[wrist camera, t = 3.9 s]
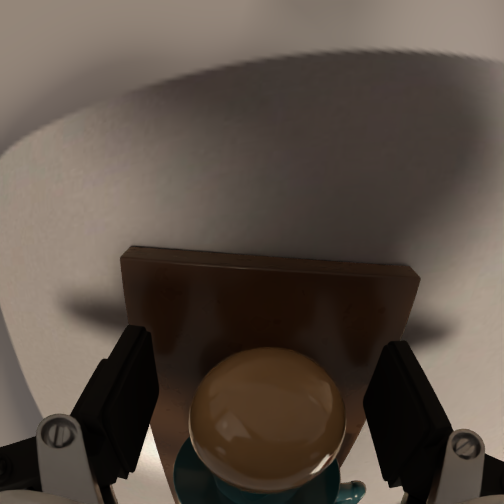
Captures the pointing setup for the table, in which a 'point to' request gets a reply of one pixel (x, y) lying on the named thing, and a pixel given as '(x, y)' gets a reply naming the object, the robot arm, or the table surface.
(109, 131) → the table surface
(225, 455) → the jug
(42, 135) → the table surface
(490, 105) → the table surface
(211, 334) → the stand
